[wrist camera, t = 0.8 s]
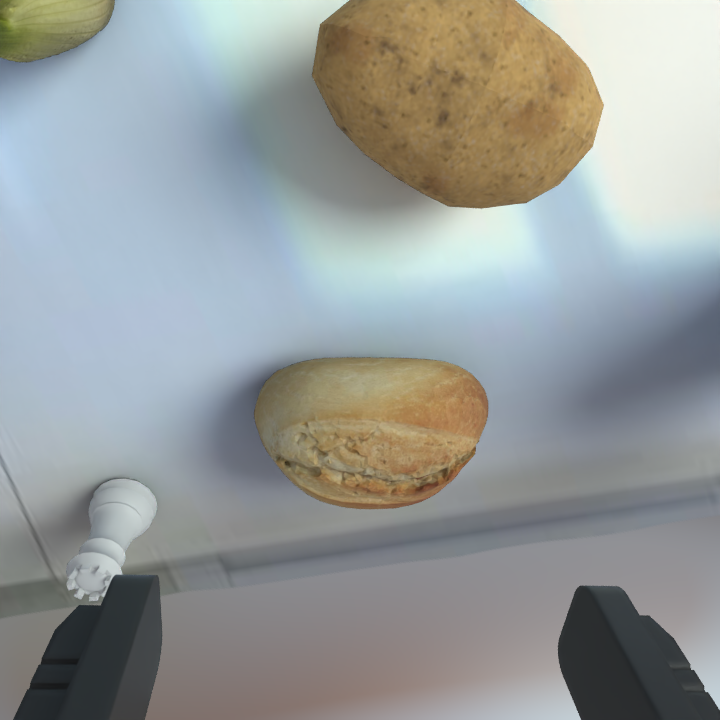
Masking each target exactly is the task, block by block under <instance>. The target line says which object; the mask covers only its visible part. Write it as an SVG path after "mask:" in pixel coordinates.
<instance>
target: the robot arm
mask: <svg viewBox="0 0 720 720" xmlns="http://www.w3.org/2000/svg"><path fill="white" fill-rule="evenodd" d="M161 646H162V621H161V604H160V587H159V578H158V576H157V575H114V577H113V578H112V580H111V582H110V584H109V587H108V589H107V592H106V594H105V597H104V599H103V602H102V604H101V606H98V605H79V606H78V607H77V608H76V609H75V610H74V611H73V612H72V613H71V614H70V615H69V616H68V617H67V618H66V619H65V620H64V621H63V622H62V623H61V624H60V625H59V626H58V627H57V629H55V631H54V633H53V635H52V638H51V640H50V642H49V644H48V646H47V648H46V651H45V653H44V655H43V657H42V661H41V664H40V665H39V666H38V668H37V670H36V672H35V674H34V676H33V678H32V681H31V683H30V688H29V689H28V690H27V691H26V693H25V696H24V698H23V700H22V702H21V704H20V706H19V708H18V711H17V713H16V715H15V717H14V719H13V720H145V716H146V713H147V708H148V705H149V701H150V697H151V693H152V690H153V686H154V682H155V678H156V675H157V671H158V666H159V661H160V654H161ZM558 657H559V664H560V668H561V672H562V674H563V677H564V679H565V682H566V684H567V686H568V689H569V691H570V694H571V696H572V698H573V700H574V703H575V706H576V708H577V711H578V713H579V716H580V718H581V720H720V710H719V709H718V707H717V706H716V704H715V702H714V701H713V699H712V698H711V696H710V695H709V693H708V692H705V690H704V685H703V684H702V682H701V681H700V679H699V677H698V676H697V674H696V673H695V671H694V670H691V668H690V663H689V662H688V660H687V659H686V657H685V655H684V654H683V652H682V651H681V649H680V648H679V646H678V645H677V643H676V641H675V640H674V638H673V637H672V636H670V635H669V634H668V633H667V632H666V631H665V630H664V629H663V628H662V627H661V626H660V625H659V624H658V623H656V622H655V621H654V620H653V619H652V618H651V617H650V616H640V615H639V614H638V612H637V610H636V609H635V607H634V606H633V604H632V602H631V601H630V599H629V597H628V595H627V594H626V593H625V591H624V590H623V589H622V588H620V587H617V586H579V587H578V588H577V589H576V591H575V594H574V597H573V600H572V603H571V606H570V609H569V611H568V614H567V617H566V620H565V623H564V626H563V629H562V632H561V635H560V638H559V643H558Z"/></svg>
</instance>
